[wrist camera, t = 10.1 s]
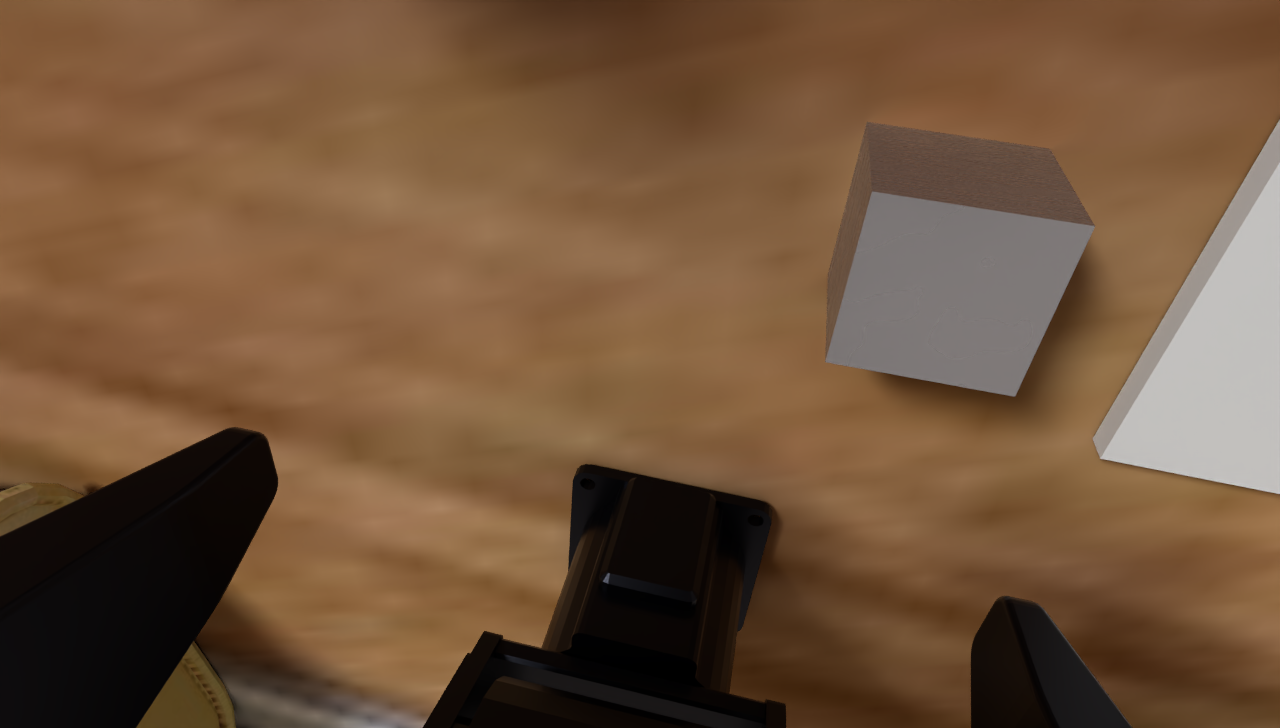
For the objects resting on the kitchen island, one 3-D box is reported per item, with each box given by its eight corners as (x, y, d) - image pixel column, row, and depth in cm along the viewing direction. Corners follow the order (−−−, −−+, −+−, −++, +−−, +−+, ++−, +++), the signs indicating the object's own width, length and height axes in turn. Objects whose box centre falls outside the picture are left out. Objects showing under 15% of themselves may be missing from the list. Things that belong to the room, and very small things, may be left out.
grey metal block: (987, 300, 20) (1014, 397, 17) (827, 272, 20) (825, 362, 17) (1049, 147, 17) (1094, 226, 14) (867, 120, 18) (871, 191, 15)
